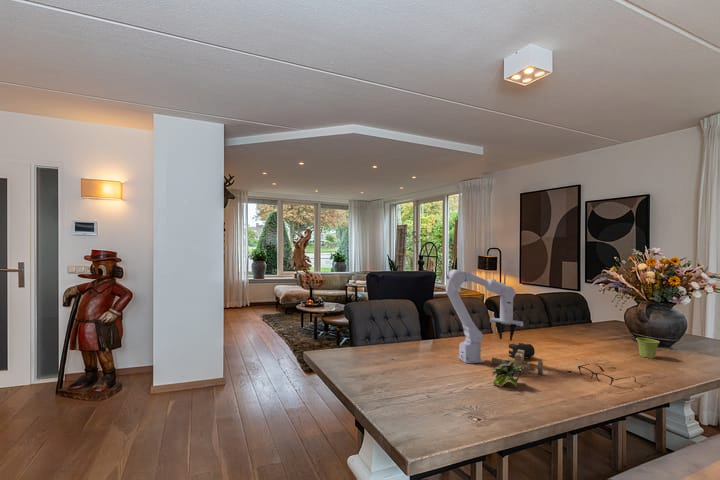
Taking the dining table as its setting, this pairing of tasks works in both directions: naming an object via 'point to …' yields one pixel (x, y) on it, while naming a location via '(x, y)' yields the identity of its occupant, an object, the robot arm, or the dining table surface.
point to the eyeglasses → (601, 374)
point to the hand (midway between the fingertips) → (505, 339)
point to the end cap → (527, 349)
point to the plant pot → (647, 347)
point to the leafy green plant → (506, 372)
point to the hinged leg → (519, 356)
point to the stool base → (524, 365)
